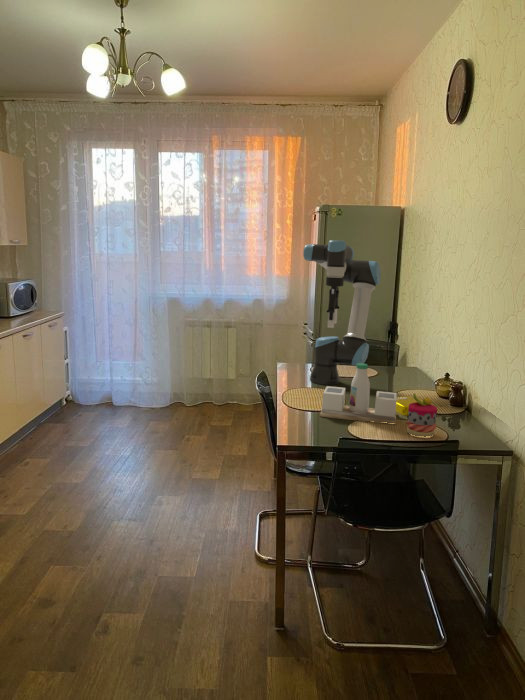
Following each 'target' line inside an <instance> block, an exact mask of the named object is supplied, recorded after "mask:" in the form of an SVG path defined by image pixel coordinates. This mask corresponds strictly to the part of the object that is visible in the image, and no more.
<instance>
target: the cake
mask: <svg viewBox="0 0 525 700" xmlns="http://www.w3.org/2000/svg"><path fill="white" fill-rule="evenodd" d="M412 396H413V397H414V399H415V400H416V401H417V402H415V403H411V404H409V408H408V411H409V412H408V413H409V414H408V416H406V417H407V418H406V419H407V421H406V422H405V423H406V425H407V426H406V433H407V432H408V433H410V434H412V435H415V436H424V437H426V436H432V435H434V436H435V430H436V429H437V423H436V422H437V421H436V418H437V414H438V407H437V406H435V405H434V404H433V403H432V402H433V401H432V399H431V398H430V397H424V398H423V402H421V401H420V400H418V399H417V397H418V396H417V395H416V393H413V395H412ZM432 404H433V405H432Z"/></svg>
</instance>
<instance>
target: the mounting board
mask: <svg viewBox="0 0 525 700" xmlns="http://www.w3.org/2000/svg"><path fill="white" fill-rule="evenodd" d="M349 407H350V405H347V404H346V405H345V404H344V408H343V411H334V410H325V409H322V408H321V411H320V413H319V417H323V418H330V419H339V420H340V419H341V420H348V421H349V420H350V421H355V422H357V420H358V422H365V421H374V422H387V423H396V424H397V412H395V417H389V416H380V415H374V414H375V407H368V412H367V413H357V412H351V411H350V410H349Z"/></svg>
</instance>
